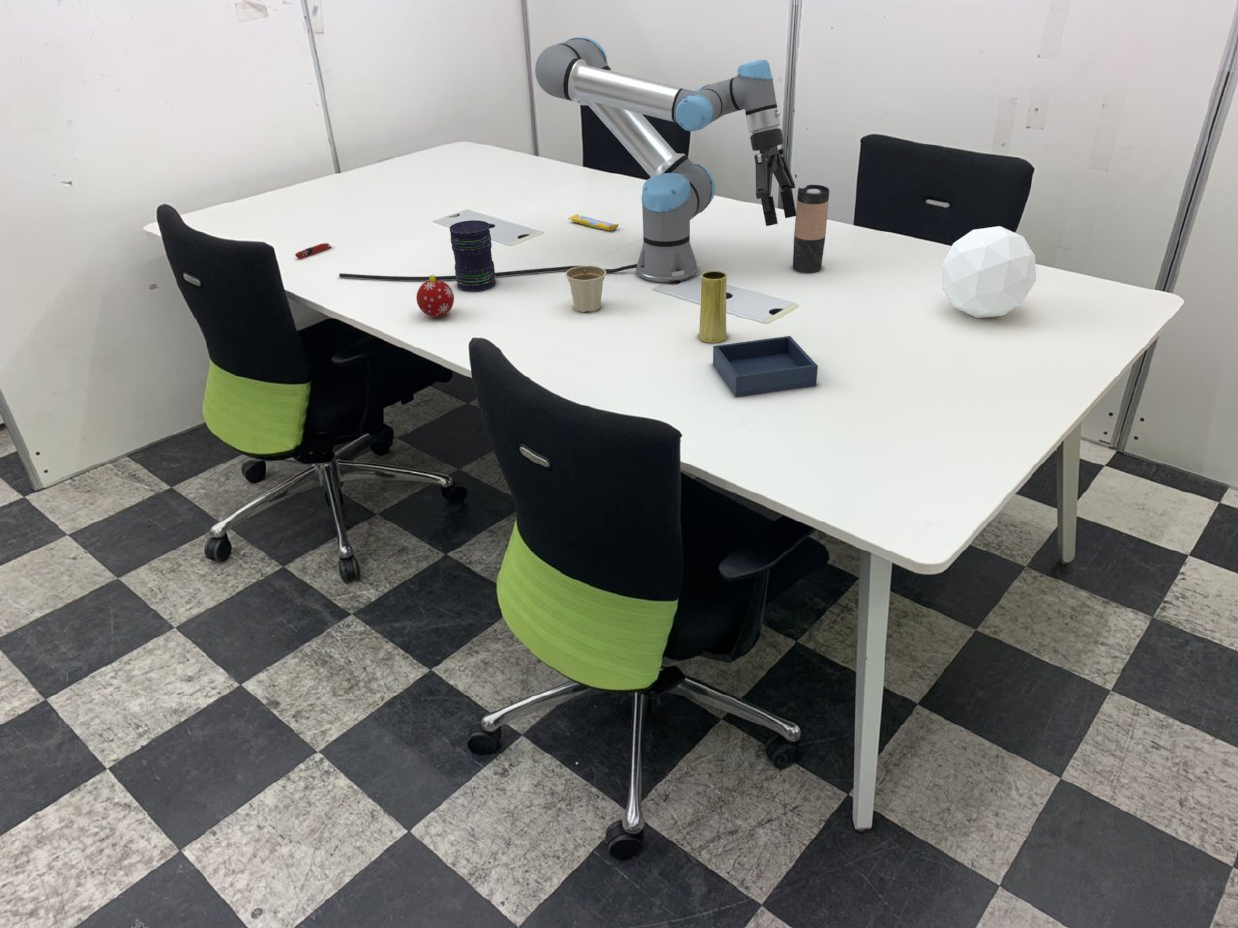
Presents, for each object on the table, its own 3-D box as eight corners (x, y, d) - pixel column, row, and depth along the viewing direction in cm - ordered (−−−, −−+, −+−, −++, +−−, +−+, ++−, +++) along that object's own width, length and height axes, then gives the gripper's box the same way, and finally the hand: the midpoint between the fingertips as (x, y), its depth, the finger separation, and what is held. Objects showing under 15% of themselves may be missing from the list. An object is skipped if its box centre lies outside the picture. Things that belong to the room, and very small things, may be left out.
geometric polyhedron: (981, 350, 208) (979, 302, 191) (926, 293, 218) (919, 243, 201) (1055, 301, 206) (1059, 248, 189) (995, 246, 217) (994, 191, 200)
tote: (735, 397, 180) (736, 377, 177) (712, 364, 192) (713, 345, 189) (816, 385, 182) (818, 365, 180) (788, 354, 194) (790, 335, 192)
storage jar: (503, 280, 237) (497, 222, 229) (483, 294, 229) (475, 235, 221) (470, 275, 240) (463, 218, 232) (449, 289, 233) (440, 230, 225)
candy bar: (620, 229, 267) (620, 222, 266) (611, 233, 265) (610, 226, 264) (577, 219, 277) (577, 212, 276) (568, 222, 274) (567, 216, 273)
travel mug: (821, 274, 232) (829, 194, 221) (790, 272, 233) (797, 193, 222) (822, 262, 238) (830, 185, 227) (792, 261, 240) (798, 184, 229)
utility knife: (297, 260, 255) (296, 253, 254) (295, 259, 256) (293, 252, 255) (332, 248, 263) (331, 241, 262) (330, 247, 263) (328, 240, 262)
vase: (696, 332, 205) (697, 270, 198) (724, 330, 206) (725, 269, 198) (701, 344, 200) (701, 281, 193) (729, 342, 201) (731, 279, 193)
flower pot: (613, 301, 222) (611, 267, 217) (599, 317, 215) (597, 281, 210) (576, 298, 225) (574, 264, 220) (562, 313, 217) (559, 278, 213)
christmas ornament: (415, 312, 221) (409, 272, 216) (451, 305, 224) (445, 266, 218) (424, 325, 214) (417, 284, 209) (460, 318, 217) (454, 277, 212)
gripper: (761, 130, 208) (778, 225, 214) (797, 123, 228) (812, 211, 234) (730, 138, 212) (748, 231, 218) (768, 131, 232) (784, 217, 238)
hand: (781, 221), depth 226 cm, fingers open, 13 cm apart
